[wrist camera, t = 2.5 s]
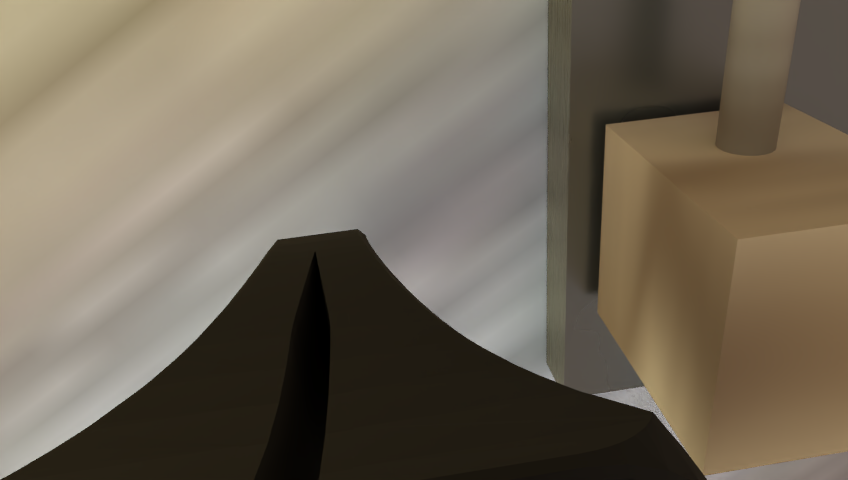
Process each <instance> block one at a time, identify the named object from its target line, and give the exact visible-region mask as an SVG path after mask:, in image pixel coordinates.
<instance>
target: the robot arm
mask: <svg viewBox="0 0 848 480" xmlns="http://www.w3.org/2000/svg"><path fill="white" fill-rule="evenodd" d="M1 480H707V479H706V478H705V476H704V475H703V473H702V472H701V470H700V469H699V468H698V466H697V465H696V464H695V462H694V461H693V460H692V459H691V457H690V456H689V455H688V453H687V452H686V451H685V450H684V448H683V447H682V446H681V445H680V444H679V442H678V441H677V440H676V439H675V438H674V437H673V436H672V434H671V433H670V432H669V431H668V430H667V429H666V427H665V426H664V425H663V424H662V423H661V421H660V420H659V419H658V418H657V416H656V415H655V414H654V413H653V412H650V411H647V410H643V409H640V408H636V407H633V406H629V405H626V404H622V403H619V402H616V401H612V400H609V399H605V398H602V397H598V396H595V395H591V394H588V393H584V392H581V391H578V390H575V389H573V388H570V387H567V386H565V385H562V384H560V383H557V382H555V381H552V380H549V379H547V378H544V377H542V376H539V375H537V374H535V373H532V372H530V371H528V370H526V369H523V368H521V367H519V366H517V365H515V364H513V363H511V362H509V361H507V360H505V359H503V358H501V357H499V356H497V355H495V354H494V353H492V352H490V351H488V350H486V349H484V348H482V347H481V346H479V345H477V344H475V343H474V342H472V341H470V340H469V339H467V338H466V337H464V336H463V335H461V334H460V333H458V332H457V331H456V330H454V329H453V328H451V327H450V326H449V325H447V324H446V323H445V322H443V321H442V320H441V319H440V318H439V317H437V316H436V315H435V314H434V313H432V312H431V311H430V310H429V309H428V308H427V307H426V306H425V305H423V304H422V303H421V302H420V301H419V300H418V299H417V298H416V297H415V296H414V295H413V294H412V293H411V292H409V291H408V290H407V289H406V287H405V286H404V285H403V284H402V283H401V282H400V281H399V280H398V279H397V278H396V277H395V276H394V275H393V274H392V272H391V271H390V270H389V269H388V268H387V267H386V265H385V264H384V263H383V262H382V260H381V259H380V258H379V257H378V255H377V254H376V253H375V251H374V250H373V248H372V247H371V245H370V244H369V242H368V240H367V238H366V235H365V234H363V233H362V232H361V231H359V230H358V229H356V230H348V231H341V232H333V233H326V234H318V235H310V236H303V237H295V238H288V239H280V240H277V241H276V242H275V244H274V245H273V246H272V247H271V249H270V250H269V251H268V252H267V254H266V255H265V257H264V258H263V259H262V261H261V262H260V264H259V265H258V266H257V268H256V269H255V270H254V272H253V273H252V274H251V276H250V277H249V278H248V280H247V281H246V282H245V284H244V285H243V286H242V288H241V289H240V290H239V291H238V293H237V294H236V295H235V296H234V298H233V299H232V300H231V301H230V303H229V304H228V305H227V306H226V308H225V309H224V310H223V311H222V312H221V313H220V314H219V315H218V317H217V318H216V319H215V320H214V321H213V322H212V323H211V324H210V325H209V326H208V328H207V329H206V330H205V331H204V332H203V333H202V334H201V335H200V336H199V337H198V338H197V339H196V340H195V341H194V342H193V343H192V344H191V345H190V346H189V347H188V348H187V349H186V350H185V351H184V352H183V353H182V354H181V355H180V356H179V357H178V358H177V359H175V360H174V361H173V362H172V363H171V364H170V365H169V366H167V367H166V368H165V369H164V370H163V371H162V372H160V373H159V374H158V375H157V376H156V377H155V378H154V379H152V380H151V381H150V382H149V383H147V384H146V385H145V386H144V387H142V388H141V389H140V390H138V391H137V392H136V393H134V394H133V395H132V396H130V397H129V398H127V399H126V400H125V401H123V402H122V403H121V404H119V405H118V406H116V407H115V408H114V409H112V410H111V411H110V412H108V413H107V414H106V415H104V416H103V417H101V418H100V419H99V420H97V421H96V422H95V423H93V424H92V425H90V426H89V427H87V428H86V429H84V430H83V431H81V432H80V433H78V434H77V435H75V436H74V437H72V438H70V439H69V440H67V441H66V442H64V443H62V444H61V445H59V446H58V447H56V448H55V449H53V450H51V451H50V452H48V453H46V454H45V455H43V456H41V457H39V458H38V459H36V460H34V461H33V462H31V463H29V464H28V465H26V466H24V467H22V468H21V469H19V470H17V471H16V472H14V473H12V474H10V475H8V476H7V477H5V478H3V479H1Z"/></svg>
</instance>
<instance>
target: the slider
mask: <svg viewBox="0 0 848 480" xmlns="http://www.w3.org/2000/svg"><path fill="white" fill-rule="evenodd" d="M800 2H801V0H733V4H732V12H731V20H730V28H729V36H728V45H727V53H726V61H725V69H724V77H723V85H722V94H721V102H720V110H719V111H712V112H704V113H696V114H688V115H680V116H671V117H663V118H655V119H647V120H639V121H631V122H623V123H615V124H606V133H605V155H604V177H603V199H602V221H601V243H600V265H599V287H598V309H597V313H598V314H599V316H600V317H601V319H602V320H603V322H604V323H605V325H606V327H607V328H608V330H609V331H610V333H611V334H612V336H613V337H614V339H615V341H616V342H617V344H618V345H619V347H620V348H621V350H622V351H623V353H624V354H625V356H626V358H627V359H628V361H629V362H630V364H631V365H632V367H633V368H634V370H635V372H636V373H637V375H638V376H639V378H640V379H641V381H642V382H643V384H644V386H645V387H646V389H647V390H648V392H649V393H650V395H651V396H652V398H653V399H654V401H655V403H656V404H657V406H658V407H659V409H660V410H661V412H662V413H663V415H664V417H665V418H666V420H667V421H668V423H669V424H670V426H671V427H672V429H673V431H674V432H675V434H676V435H677V437H678V438H679V440H680V441H681V443H682V445H683V446H684V448H685V449H686V451H687V452H688V454H689V455H690V457H691V458H692V460H693V461H694V462H695V464H696V465H697V466H698V468H699V469H700V470H701V472H702V473H703V475H704V476H705V475H711V474H716V473H722V472H728V471H734V470H740V469H746V468H752V467H758V466H764V465H769V464H775V463H781V462H787V461H793V460H799V459H805V458H811V457H817V456H822V455H828V454H834V453H840V452H846V451H848V135H847V134H845V133H843V132H841V131H839V130H837V129H835V128H833V127H831V126H829V125H827V124H825V123H823V122H821V121H819V120H817V119H815V118H813V117H811V116H809V115H807V114H805V113H803V112H801V111H799V110H797V109H795V108H793V107H791V106H789V105H787V104H785V103H784V99H785V93H786V86H787V80H788V74H789V68H790V62H791V56H792V50H793V44H794V38H795V32H796V26H797V20H798V14H799V8H800Z"/></svg>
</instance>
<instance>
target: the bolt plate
mask: <svg viewBox="0 0 848 480" xmlns="http://www.w3.org/2000/svg"><path fill="white" fill-rule="evenodd" d="M732 4H733V0H548V177H547V364H548V366H549V369H550V371H551V373H552V375H553V377H554V379H555V381H556V382H557V383H560V384H562V385H565V386H567V387H570V388H573V389H575V390H578V391H581V392H584V393H588V394H597V393H604V392H610V391H617V390H623V389H629V388H636V387H642V386H644V384H643V382H642V381H641V379H640V378H639V376H638V375H637V373H636V372H635V370H634V368H633V367H632V365H631V364H630V362H629V361H628V359H627V358H626V356H625V354H624V353H623V351H622V350H621V348H620V347H619V345H618V344H617V342H616V341H615V339H614V337H613V336H612V334H611V333H610V331H609V330H608V328H607V327H606V325H605V323H604V322H603V320H602V319H601V317H600V316H599V314H598V313H597V309H598V287H599V265H600V243H601V221H602V199H603V177H604V155H605V133H606V124H615V123H623V122H631V121H639V120H647V119H655V118H663V117H671V116H680V115H688V114H696V113H704V112H712V111H719V110H720V102H721V94H722V85H723V77H724V69H725V61H726V53H727V45H728V36H729V28H730V20H731V12H732ZM784 103H785V104H787V105H789V106H791V107H793V108H795V109H797V110H799V111H801V112H803V113H805V114H807V115H809V116H811V117H813V118H815V119H817V120H819V121H821V122H823V123H825V124H827V125H829V126H831V127H833V128H835V129H837V130H839V131H841V132H843V133H845V134H847V135H848V0H801V2H800V8H799V14H798V20H797V26H796V32H795V38H794V44H793V50H792V56H791V62H790V68H789V74H788V80H787V86H786V93H785V99H784Z"/></svg>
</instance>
